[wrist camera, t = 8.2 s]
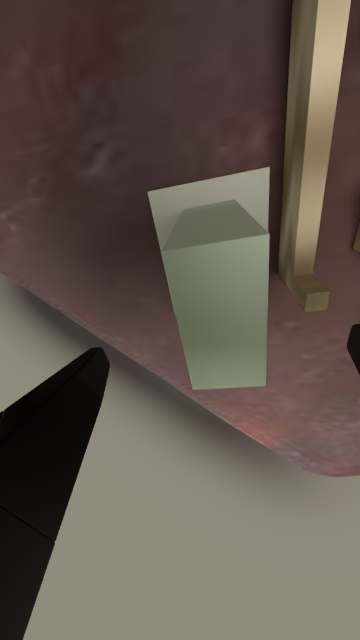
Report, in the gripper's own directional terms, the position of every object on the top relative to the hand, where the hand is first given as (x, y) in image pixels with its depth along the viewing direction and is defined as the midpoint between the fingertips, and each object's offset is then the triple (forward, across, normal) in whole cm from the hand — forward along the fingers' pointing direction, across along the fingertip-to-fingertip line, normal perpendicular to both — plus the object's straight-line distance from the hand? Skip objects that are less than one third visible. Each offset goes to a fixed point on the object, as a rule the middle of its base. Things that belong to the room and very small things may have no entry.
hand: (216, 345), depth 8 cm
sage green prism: (+11, 0, 0) cm, 11 cm away
